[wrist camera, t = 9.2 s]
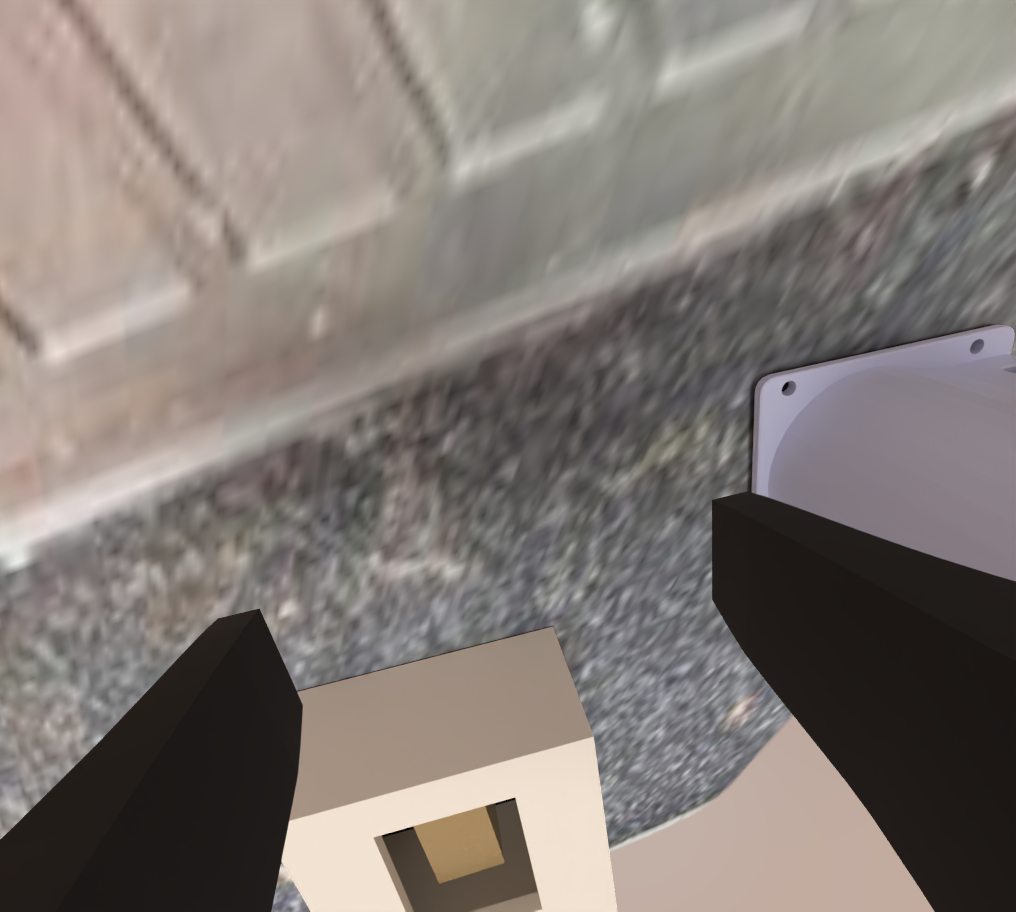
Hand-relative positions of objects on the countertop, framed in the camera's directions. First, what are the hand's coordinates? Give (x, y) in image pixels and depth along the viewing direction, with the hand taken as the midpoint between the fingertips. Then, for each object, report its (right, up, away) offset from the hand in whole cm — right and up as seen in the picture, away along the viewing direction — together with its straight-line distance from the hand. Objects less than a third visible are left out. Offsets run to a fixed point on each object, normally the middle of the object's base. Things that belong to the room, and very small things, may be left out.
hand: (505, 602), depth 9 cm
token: (-2, -10, +14) cm, 18 cm away
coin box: (-2, -10, +14) cm, 18 cm away
